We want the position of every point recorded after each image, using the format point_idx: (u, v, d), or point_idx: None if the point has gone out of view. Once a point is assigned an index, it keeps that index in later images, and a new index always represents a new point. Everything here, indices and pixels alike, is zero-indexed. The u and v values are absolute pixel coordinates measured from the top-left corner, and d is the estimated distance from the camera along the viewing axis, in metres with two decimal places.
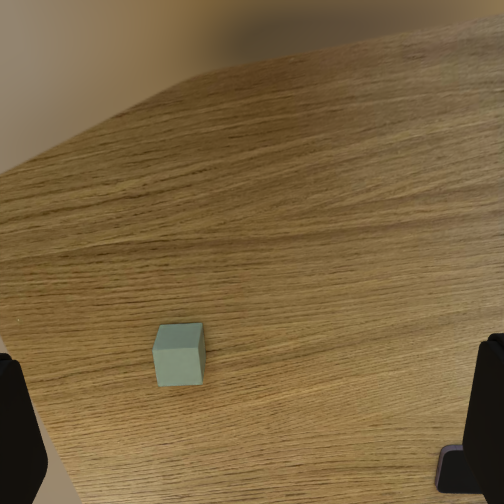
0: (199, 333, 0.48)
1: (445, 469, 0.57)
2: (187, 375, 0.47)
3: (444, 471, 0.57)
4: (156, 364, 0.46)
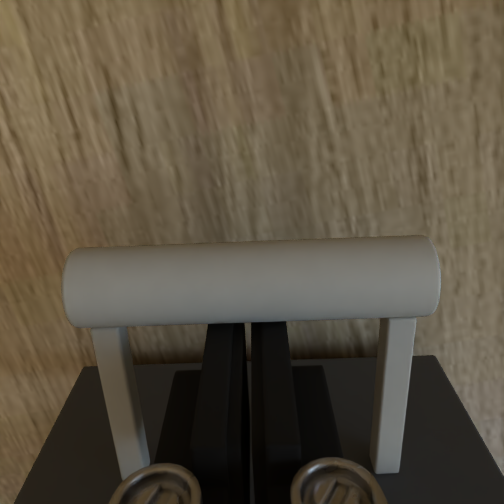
0: None
1: None
2: None
3: None
4: None
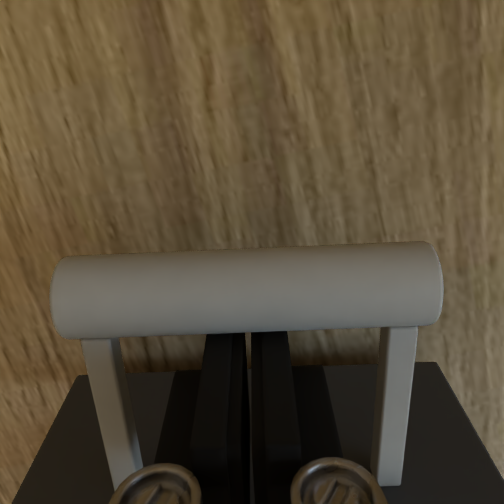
0: None
1: None
2: None
3: None
4: None
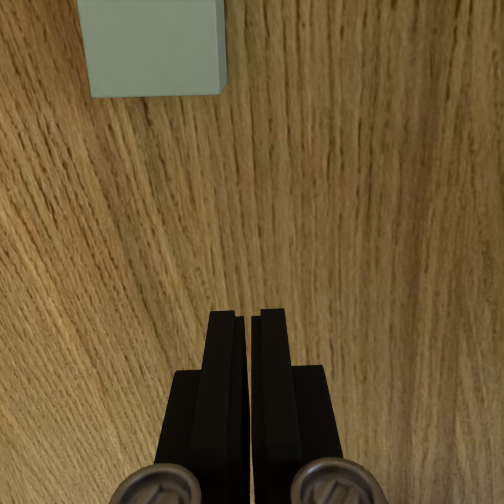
0: (223, 85, 0.18)
1: None
2: (120, 54, 0.16)
3: None
4: None
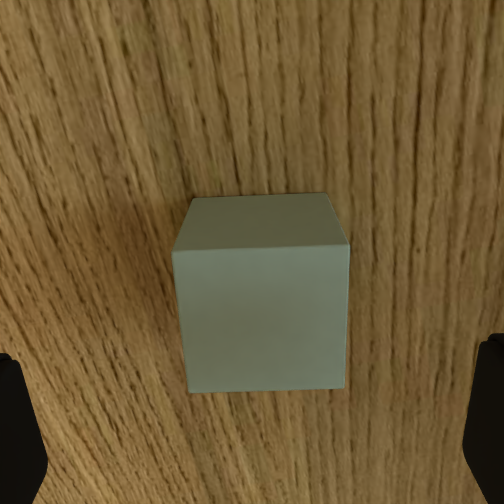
0: None
1: None
2: (227, 352, 0.13)
3: None
4: (280, 255, 0.12)
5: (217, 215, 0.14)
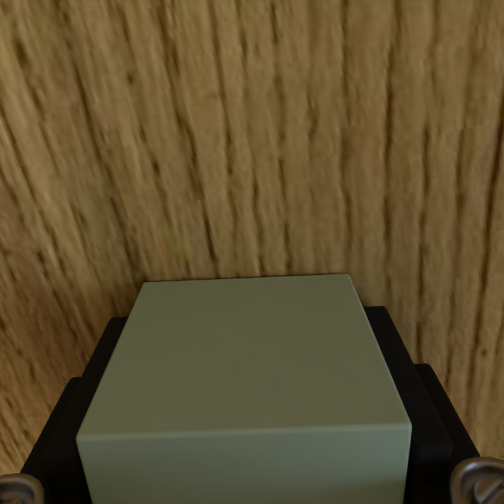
0: None
1: None
2: None
3: None
4: (281, 441, 0.06)
5: (176, 328, 0.08)
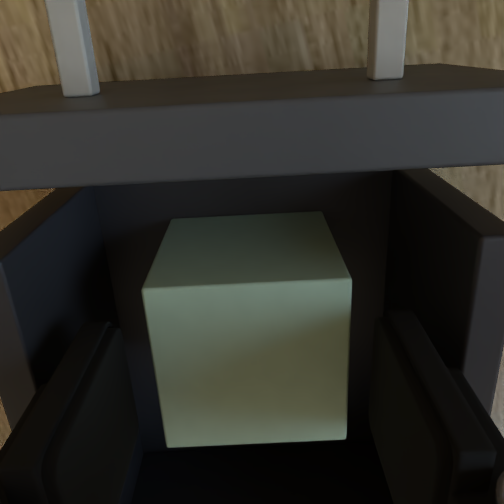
0: None
1: None
2: (210, 401, 0.11)
3: None
4: (270, 291, 0.10)
5: (198, 240, 0.12)
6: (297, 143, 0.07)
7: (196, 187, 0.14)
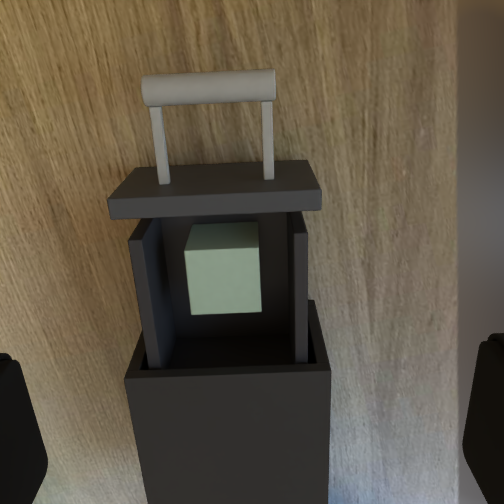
0: None
1: None
2: (208, 295, 0.29)
3: None
4: (229, 251, 0.28)
5: (204, 234, 0.30)
6: (233, 205, 0.26)
7: None
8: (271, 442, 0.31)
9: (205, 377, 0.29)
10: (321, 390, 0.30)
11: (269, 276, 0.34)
